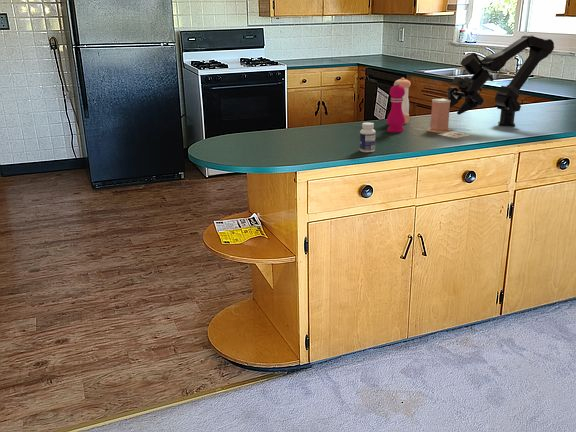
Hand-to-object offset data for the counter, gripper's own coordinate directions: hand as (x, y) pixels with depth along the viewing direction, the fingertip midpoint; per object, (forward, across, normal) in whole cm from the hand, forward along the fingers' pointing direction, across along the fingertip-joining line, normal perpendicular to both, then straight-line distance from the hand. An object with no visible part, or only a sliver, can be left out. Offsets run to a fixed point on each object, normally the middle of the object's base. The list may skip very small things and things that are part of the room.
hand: (451, 112), depth 238 cm
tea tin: (+8, 0, +1) cm, 8 cm away
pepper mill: (+20, -6, -11) cm, 24 cm away
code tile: (+8, +10, +2) cm, 13 cm away
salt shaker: (+12, -22, -2) cm, 25 cm away
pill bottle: (+38, +20, -29) cm, 52 cm away
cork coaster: (+9, 0, +1) cm, 9 cm away
